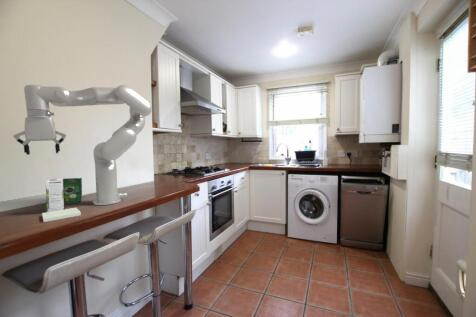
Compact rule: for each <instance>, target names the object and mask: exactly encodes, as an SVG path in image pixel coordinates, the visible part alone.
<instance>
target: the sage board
mask: <svg viewBox="0 0 476 317" xmlns="http://www.w3.org/2000/svg"><path fill="white" fill-rule="evenodd" d="M79 216H82V213H81V211H80V210H79V209H78V207H72V208H65V209H63V210H58V211H52V212H47V211H46V212H41V217H42V221H43V222H44V223H45V222H53V221H58V220H62V219H66V218H67V219H69V218H72V217H79Z"/></svg>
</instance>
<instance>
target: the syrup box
mask: <svg viewBox="0 0 476 317" xmlns="http://www.w3.org/2000/svg"><path fill="white" fill-rule="evenodd" d="M63 179H64V178H51V179H47V180H46V181H45V195H46V196H45V198H46V200H45V201H46V205H45V206H46V212H52V211H58V210H64V208H65V204H64V196H63Z"/></svg>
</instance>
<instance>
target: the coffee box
mask: <svg viewBox="0 0 476 317" xmlns="http://www.w3.org/2000/svg"><path fill="white" fill-rule="evenodd" d="M62 179H63V196H64V205H68V204H69V205H70V204H80V203H82V202H83V185H82V184H83V178H82V177H74V178H73V177H71V178H62Z"/></svg>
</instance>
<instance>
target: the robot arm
mask: <svg viewBox="0 0 476 317" xmlns="http://www.w3.org/2000/svg"><path fill="white" fill-rule="evenodd" d="M23 90H24V99H25V106H26V107H25V108H26V115H27V116H26V117H24V130H23V131H20V132H18V133H16V134H13V135H12V137H13V138H14V139H15V140H16V141H17V142H18V143H19V144H21V145H22V146H23V150H24V152H23V153H24V154H26V155H27V156H29V155H31V151H30V146H29V143H30V142H34V141H35V142H39V141H41V142H43V141H46V142H47V141H53V142H54V143H55V144H54V147H55V148H54V149H55V153H56V154H59V152H60V151H61V149H60V147H61V146H60V144H62V142H64V141H65V138H66V136H67V135H66V133H63V132H60V131H58V130H56V126H55V121H54V118H53V117H54V116H55V112H51V109H50V104H51V105H53V106H55V107H60V108H61V107H82V106H98V105H99V106H101V105H103V106H104V105H107V106H108V105H124V104H125V105H127V106H128V107H129V115H130V116H129V119H128V120H126V122H125V123H124V124H123V125H121V126H120V127H118V128H117V129H116V130H114V132H113V133H112V135H111V137H110V138H109V139H107V140H106V141H105V142H99V143H98V144H96V146H95V147H94V148H93V161H94V169H95V170H94V172H95V191H96V192H95V193H96V194H95V195H96V200H95V199H94V200H93V202H92V204H93V205H95V206H107V205H113V204H114V205H115V204H117V203H120V202H121V201H122V198H123V197H124V198H125V197H128V192H118V175H117V173H118V172H117V162H116V160H117V159H119V158H120V157H121V156H122V155H123V154H125V153H126V152H127V151H128V150H129V149H130V148H131V147H132V146H133V145H134V144H135V143H136V141H137V136H138V135H139V134H140V133H141V131H142V130H143V129H144V128H145V124H146V118H145V117H147V116H149V115H150V114H151V112H152V105H151V104H150V102H149V101H148V100H147V99H145V98H144V97H143V96H141V95H140V94H139V93H138V92H137V91H135V90H133V89H132V88H131V87H130V86H128V85H124V84H123V85H118V86H117V87H97V86H93V87H89V88H84V89H81V90H67V88H64V87H62V86H43V85H38V84H27V85H25V86H24V88H23ZM57 135H58V136H60V139H59V140H58V139H57ZM22 136H24V137H25V140H23V139H21V138H20V137H22Z"/></svg>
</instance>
